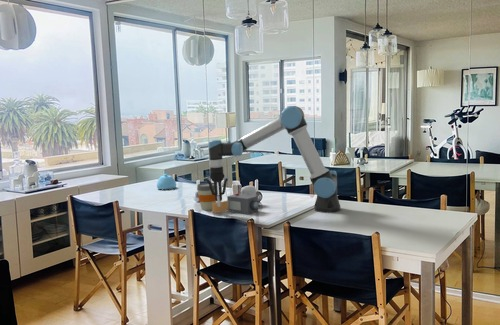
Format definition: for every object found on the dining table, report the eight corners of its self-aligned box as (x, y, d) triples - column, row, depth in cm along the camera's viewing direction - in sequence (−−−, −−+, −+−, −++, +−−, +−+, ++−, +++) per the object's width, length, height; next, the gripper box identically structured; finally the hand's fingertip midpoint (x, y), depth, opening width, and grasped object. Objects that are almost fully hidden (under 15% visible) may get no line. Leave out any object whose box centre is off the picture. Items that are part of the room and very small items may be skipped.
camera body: (261, 211, 278) (260, 194, 277) (251, 214, 271) (250, 197, 270) (237, 207, 290) (237, 192, 289) (227, 211, 283) (227, 194, 282)
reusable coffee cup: (221, 206, 297) (220, 182, 295) (214, 210, 285) (213, 186, 283) (202, 205, 300) (201, 182, 298) (195, 210, 288) (193, 186, 286)
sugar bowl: (170, 186, 379) (169, 171, 378) (180, 188, 368) (179, 173, 366) (153, 188, 370) (152, 174, 368) (163, 191, 358) (162, 176, 357)
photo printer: (253, 203, 301) (252, 184, 299) (257, 204, 297) (256, 185, 296) (240, 205, 295) (239, 186, 294) (243, 207, 292) (242, 187, 290)
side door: (213, 213, 276) (212, 203, 275) (212, 212, 277) (212, 202, 276) (229, 210, 281) (229, 200, 281) (228, 209, 282) (228, 200, 282)
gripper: (228, 165, 276) (231, 204, 279) (207, 166, 278) (209, 205, 280) (226, 167, 268) (229, 207, 271) (204, 167, 270) (207, 208, 273)
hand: (219, 206), depth 276 cm, fingers closed
